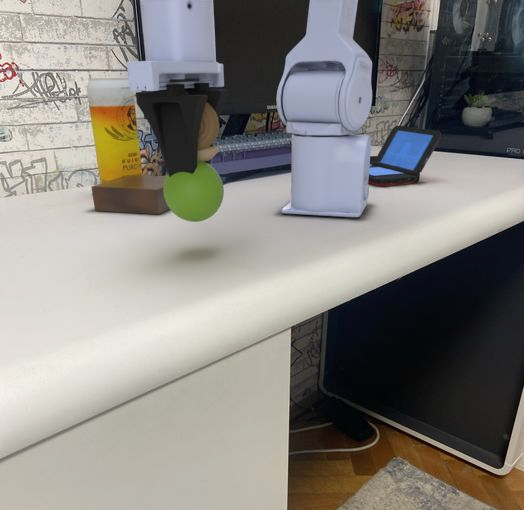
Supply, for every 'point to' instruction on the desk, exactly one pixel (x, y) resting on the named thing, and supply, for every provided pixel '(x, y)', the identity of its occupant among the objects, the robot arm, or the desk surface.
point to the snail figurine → (198, 177)
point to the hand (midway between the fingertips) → (189, 178)
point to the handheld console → (403, 156)
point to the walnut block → (131, 195)
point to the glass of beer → (114, 127)
